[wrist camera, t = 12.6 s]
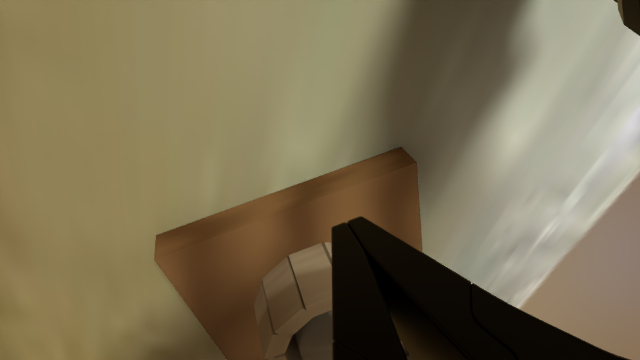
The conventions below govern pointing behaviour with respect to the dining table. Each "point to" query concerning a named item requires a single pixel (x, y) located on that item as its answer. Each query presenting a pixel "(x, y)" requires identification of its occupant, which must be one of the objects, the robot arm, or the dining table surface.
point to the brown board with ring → (283, 253)
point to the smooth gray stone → (316, 338)
